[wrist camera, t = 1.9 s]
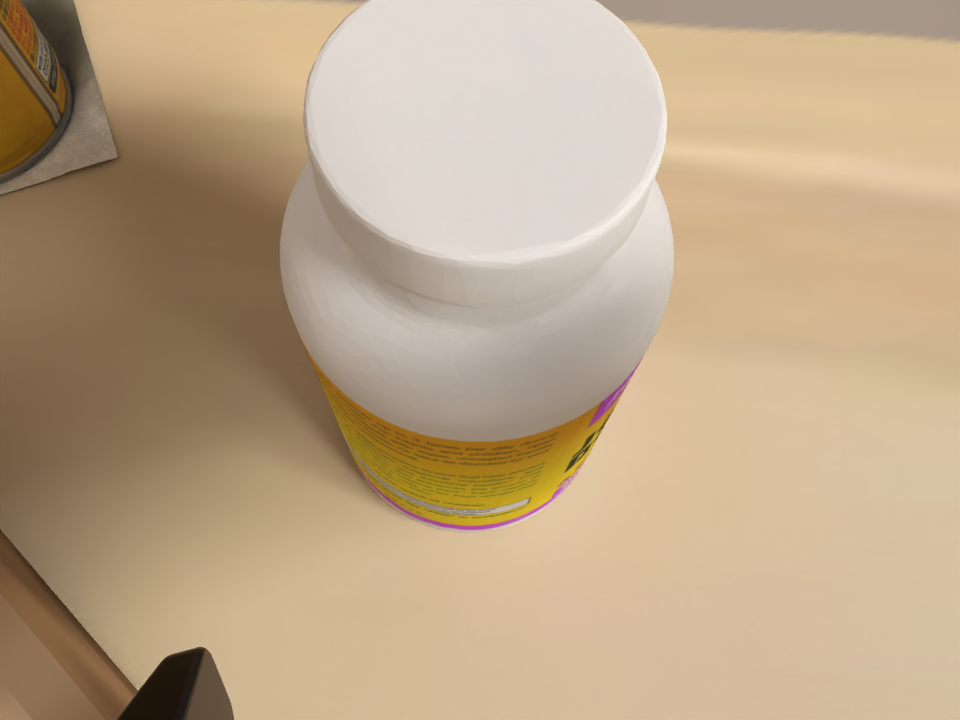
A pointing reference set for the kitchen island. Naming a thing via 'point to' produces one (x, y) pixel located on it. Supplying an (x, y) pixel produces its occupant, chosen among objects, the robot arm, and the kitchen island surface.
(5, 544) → the walnut caddy
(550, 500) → the supplement bottle
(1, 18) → the condiment
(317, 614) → the kitchen island surface
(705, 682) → the kitchen island surface
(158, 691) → the robot arm
